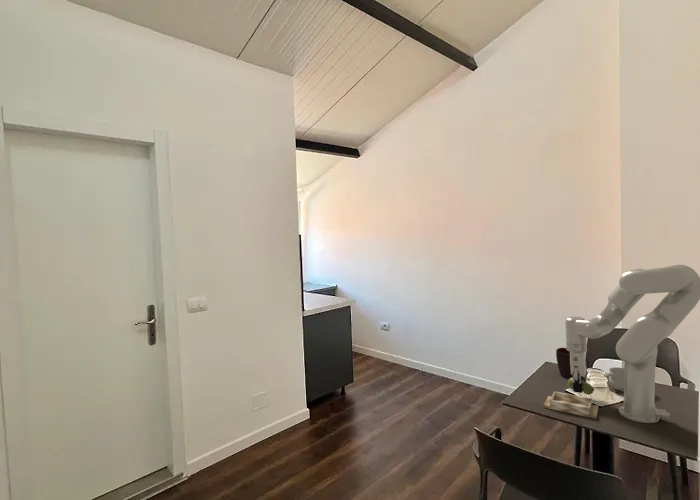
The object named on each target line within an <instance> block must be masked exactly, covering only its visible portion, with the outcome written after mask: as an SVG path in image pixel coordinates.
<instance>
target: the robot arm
mask: <svg viewBox="0 0 700 500" xmlns="http://www.w3.org/2000/svg"><path fill="white" fill-rule="evenodd" d="M657 293H658V294H659V293H661V294H663V293H667V295H665V296H664V297H663V298H662V299H661V301H660V302H659V303H658V305H657V306H656V307H655V308H654V309H652V311H650V312H649V313H646V314H644V315H642V316H639V318H637V319H636V321H634V322H633V323H632V325H631V326H630V327H629V328H628V329H627V331H625V333H624V334H623V335H622V336H621V337H620V338H619V340H617V342H616V345H615V352H616V355H617V357H618V359H620V360H621V361H623V362H624V367H623V368H624V392H623V405H622V406H619V407H618V413H619V415H621V416H622V417H624V418H625V419H628V420H630V421H634V422H637V423H643V424H654V423H658V422H659V421H660V417H662V418H666V419H671V418H670V417H671V413H670V412H667V411H666V410H665V409H659V408H657V407H656V404H655V391H656V388H655V387H656V386H655V385H656V365H657V357H658V345H659V344H660V343H661V342H662V341H664V340H665V339H667V338H668V337H670V336H671V335H672V334H673V333H674V331H675V330H676V329H677V327H679V326H680V324H682V322H683V321H684V320H685V319H686V317H687V316H688V315H689V314H690V313H691V312H692V311H693V309H694V308H695V307H696V306H697V304H698V303H699V301H700V276H699V274H698V272H697V271H696V270H695V269H694V268H692V267H691V266H688V265H685V264H675V265H670V266H665V267H656V268H648V269H643V268H635V269H631V270H627V271H625V272H623V273H622V274H621V275H620V277H619V280H618V285H617V286H616V287H615V288H614V290H612V291H611V292H610V294H609V295H608V297H607V300H608V303H607V304H606V306H605V307H604V309H602V311H601V312H600V313H599V314H598V315H597V316H596V317H593V318H591V319H585V318H584V317H581V316H568V317H566V318H565V322H564V323H565V341H566V348H567V350H568V351H570V367H571V374H572V375H573V390H572V392H573V393H577V394H582V393H583V392H582V383H581V380H583V381H584V380H585V378H584V377H585V376H586V374H587V370H586V367H587V361H586V358H587V357H586V353H588V343H587V341H588V340H587V339H591V340H595V339H599V338H601V337H603V336H605V335H608V334H610V333H611V332H612V331H613V330H614V329H615V328H616V327H617V326H618V325H619V324H620V323H621V322H622V321H623V320H624V318H626V316H627V315H628V313H629V312H630V310H632V309H633V308H634V307H635V306H636V304H637V303H638V302H639V301H640V300H641V299H642V298H643V297H644V296H645V295H646V294H648V295H649V294H657ZM585 357H586V358H585ZM584 382H585V381H584Z"/></svg>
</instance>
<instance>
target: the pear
mask: <svg viewBox="0 0 700 500" xmlns="http://www.w3.org/2000/svg"><path fill="white" fill-rule="evenodd" d="M581 383H582V393H583V394H584V395H588V396H589V395H591V394H593V393H594V391H595V387H593V385H591V383H588V382H585V381H583V380H581ZM567 387H568V388H569V389H570V390H572V391H573V377H572V378H568V380H567Z"/></svg>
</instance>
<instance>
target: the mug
mask: <svg viewBox="0 0 700 500" xmlns="http://www.w3.org/2000/svg"><path fill="white" fill-rule="evenodd" d="M555 356H556V363H557V368H558V371H559V375H560V376H561V377H563V378H568V379H570V378H572V377H573V375H572V374H571V367H570V351H568V350H567V347H559V348H557V349H555ZM585 358H586V371H587V370H588V368H589V367H590V361H589V359H588V358H587V356H585Z"/></svg>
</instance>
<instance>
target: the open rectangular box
mask: <svg viewBox="0 0 700 500" xmlns="http://www.w3.org/2000/svg"><path fill="white" fill-rule="evenodd" d="M543 408H545V409H550V410H554V411H559V412H563V413H568V414H573V415H577V416H581V417H586V418H592V419H597V417H598V411H599V406H598V405H595V404H593V398H591V397H585V396H581V395H576V394H570V393H564V392H560V391H553V393H552V394H551V396H550V395H548V396H547V398H546V401H544V403H543Z"/></svg>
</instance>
